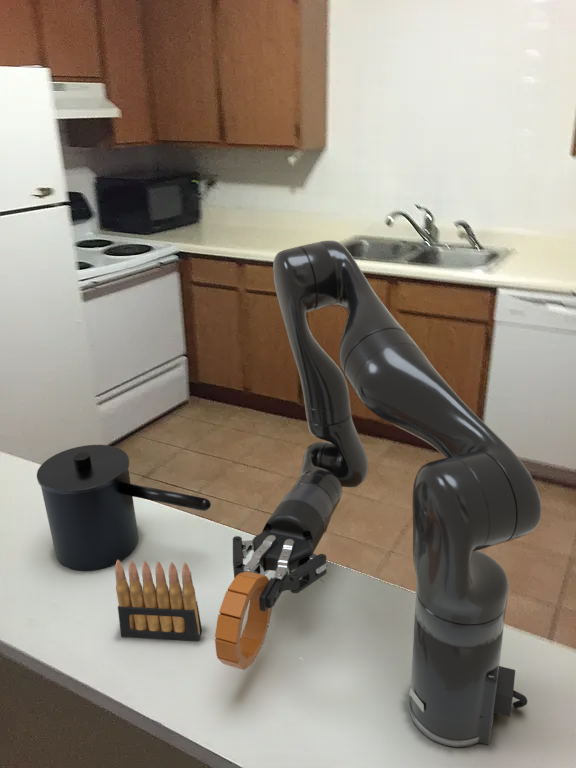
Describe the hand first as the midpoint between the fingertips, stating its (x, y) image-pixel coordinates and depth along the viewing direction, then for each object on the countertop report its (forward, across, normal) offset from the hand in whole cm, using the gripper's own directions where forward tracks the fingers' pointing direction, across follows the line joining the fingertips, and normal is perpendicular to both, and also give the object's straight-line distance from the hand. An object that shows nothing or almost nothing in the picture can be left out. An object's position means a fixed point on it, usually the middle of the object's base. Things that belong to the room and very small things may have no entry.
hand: (250, 602), depth 79 cm
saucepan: (-15, -27, +10) cm, 32 cm away
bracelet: (+1, 0, +6) cm, 7 cm away
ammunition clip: (-1, -14, +11) cm, 18 cm away
